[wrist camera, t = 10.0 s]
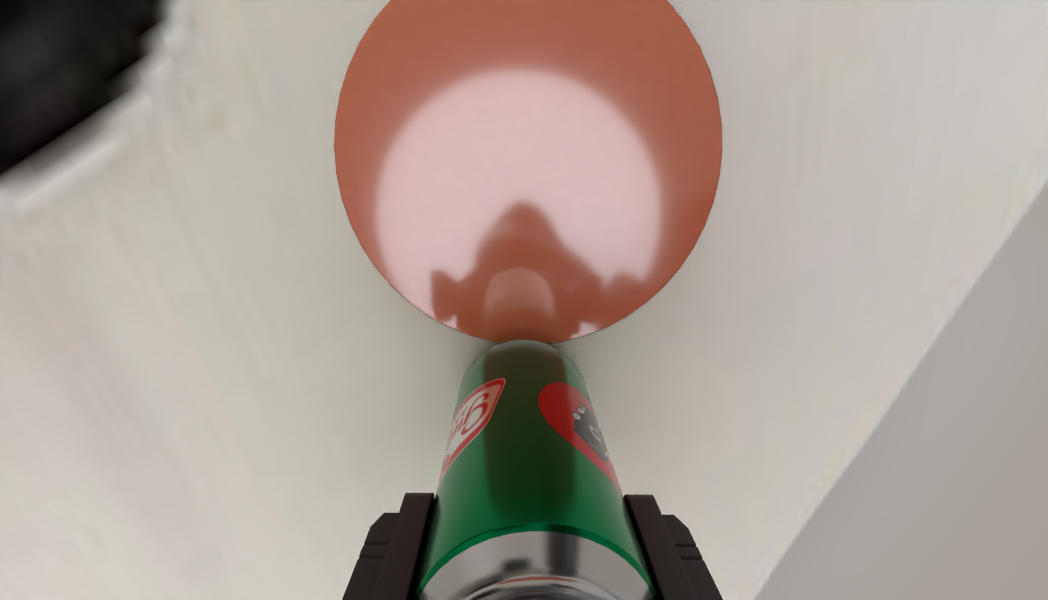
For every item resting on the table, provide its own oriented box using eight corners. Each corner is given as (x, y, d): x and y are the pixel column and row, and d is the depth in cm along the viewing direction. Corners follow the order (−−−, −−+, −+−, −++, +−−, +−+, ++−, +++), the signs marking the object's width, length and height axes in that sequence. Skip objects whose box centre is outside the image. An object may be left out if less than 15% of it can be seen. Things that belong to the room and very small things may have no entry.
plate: (772, -3, 18) (775, -5, 18) (661, 371, 22) (662, 373, 22) (361, -106, 17) (359, -109, 17) (317, 306, 21) (315, 308, 21)
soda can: (477, 321, 20) (429, 540, 8) (599, 351, 20) (720, 601, 9) (447, 432, 21) (370, 763, 9) (563, 459, 21) (626, 805, 10)
